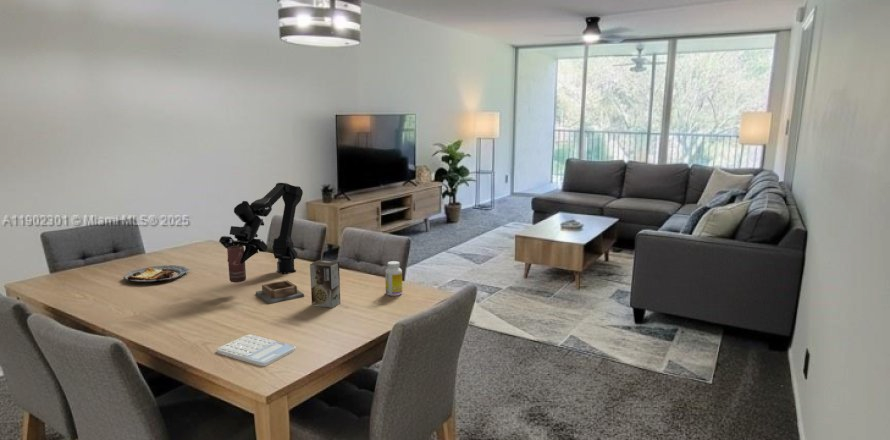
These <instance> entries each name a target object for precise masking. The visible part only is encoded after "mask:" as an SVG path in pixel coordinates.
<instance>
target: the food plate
mask: <svg viewBox="0 0 890 440" xmlns="http://www.w3.org/2000/svg"><path fill="white" fill-rule="evenodd" d="M189 271H190V268H188V267H185V266H183V265H182V266H181V265H177V264H176V265H174V264H172V265H171V264H170V265H169V264H168V265H167V264H166V265H155V266H147V267H141V268H138V269H134V270H131V271H130V272H128V273H126V274H125V275H123V280H126V281H128V282H139V283H155V282H159V281H160V282H161V281H165V280H166V281H168V280H174V279H178V278H180V277H181V276H182V275H185V274H186V273H188V272H189ZM174 273H175V274H176V273H177V275H175V274H174Z"/></svg>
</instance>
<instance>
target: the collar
mask: <svg viewBox="0 0 890 440" xmlns="http://www.w3.org/2000/svg"><path fill="white" fill-rule="evenodd" d="M255 295H256V296H257V297H259V298H261V299H262V300H263V301H264V302H266V303H267V304H270V305H271V304H274V303H279V302H284V301H289V300H293V299H294V300H295V299H298V298H303V297H305V294H304V293H303V292H301V291H299V290H298V286H297V285H296V284H294V283H293V282H291V281H290V280H288V279H287V280H280V281H274V282H268V283H264V284H261V290H257V291H255Z"/></svg>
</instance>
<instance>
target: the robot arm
mask: <svg viewBox="0 0 890 440" xmlns="http://www.w3.org/2000/svg"><path fill="white" fill-rule="evenodd" d="M303 194H304V192H303V189H302V188H301V186H298V185H297V186H296V185H292V184H289V183H288V182H277V183H275V186H274V187H273V188H272V189H271V190H270V191H268V192H267V193H266V195H264V196H263V197H262V198H259V199H256V200H254V201H253V202H251V203H249V202H248V200H243V201H242V202H241V203H239V204H237V205H236V206H235V207H234V208H233V213H234V214H235V215H236V216H237V218H238V219H239V220H240V222H242V223H244V224H243V226H233V225H231V226H230V228H229V235H232V236H234V238H232V236H228V235H223V236H220V238H219V240H218V242H219V244H220V245H222V247H224V248H225V249H227V248H228V246H230V245H236V244H240V245H243V247H244V254H243V257H242V259H241V261H240V263H241V264H242V263H244V262H245V263H246V261H248V260H249V259H250V258H251V257H253V256H255V255H256V254H259V252H261V253H266V252H267V250H268V245H267V243H266V242H265V241H264V240H263V239H261V238H258V236H259V235H258V231H259V229H260V227H262V226H263V227H264V226H265V222H264V219H263V217H264V218H265V217H266V218H267V216H269V214H271V212H272V210H273V208H272V207H273V205H274V204H275V203H276V202H278V200H279V199H281V197H282V201H283V202H284V207H283V213H282V220H281V224H280V230H279V235H278V237H277V238H274V239H273V244H272V254H273V256H274V259H277V261H276V272H278V273H280V274H282V275H283V274H289V273H294V272H297V270H296V269H295V260H296V259H297V257H298V252H297V251H296V249H294V242H293V239H292V232H293V227H294V221H295V215H296V209H297V206H298V205H299V204H300V203H301V201H302V197H303ZM261 217H262V218H261ZM235 239H236V240H235Z"/></svg>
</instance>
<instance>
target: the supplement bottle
mask: <svg viewBox="0 0 890 440" xmlns="http://www.w3.org/2000/svg"><path fill="white" fill-rule="evenodd" d="M384 273H385V276H384V277H385V282H384V283H385V294H386V295H387V296H391V297H394V296H395V297H396V296H401V295H402V293H403V270H402V268H400V261H396V260H391V261H388V262H387V268H386V269H385V272H384Z"/></svg>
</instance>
